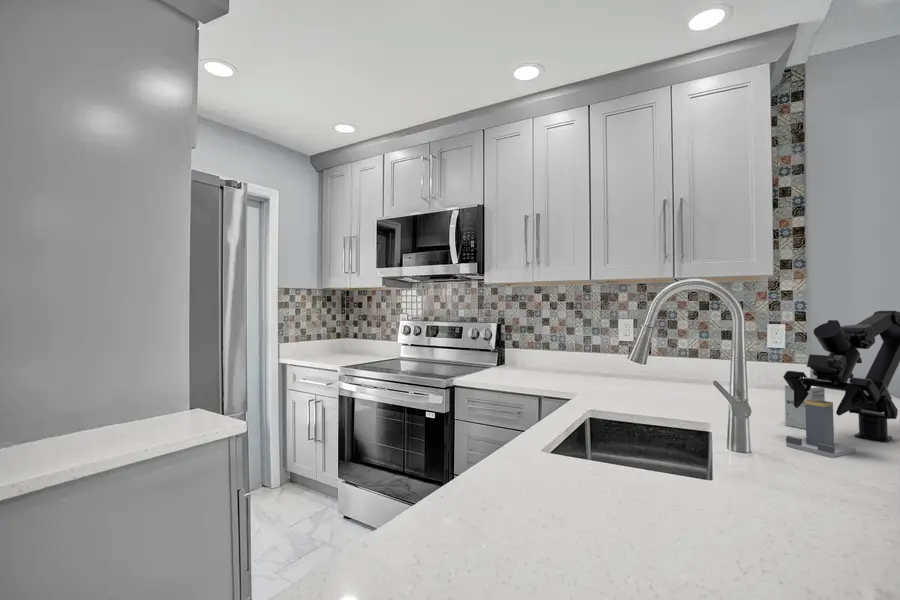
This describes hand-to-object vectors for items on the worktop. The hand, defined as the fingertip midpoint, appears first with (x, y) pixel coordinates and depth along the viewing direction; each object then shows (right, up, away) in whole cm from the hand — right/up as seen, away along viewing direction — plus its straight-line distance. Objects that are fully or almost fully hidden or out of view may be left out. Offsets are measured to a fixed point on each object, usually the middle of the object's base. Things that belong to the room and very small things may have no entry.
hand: (815, 410), depth 111 cm
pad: (+1, -10, 0) cm, 10 cm away
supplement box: (+15, -11, +22) cm, 29 cm away
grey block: (+1, -9, 0) cm, 9 cm away
